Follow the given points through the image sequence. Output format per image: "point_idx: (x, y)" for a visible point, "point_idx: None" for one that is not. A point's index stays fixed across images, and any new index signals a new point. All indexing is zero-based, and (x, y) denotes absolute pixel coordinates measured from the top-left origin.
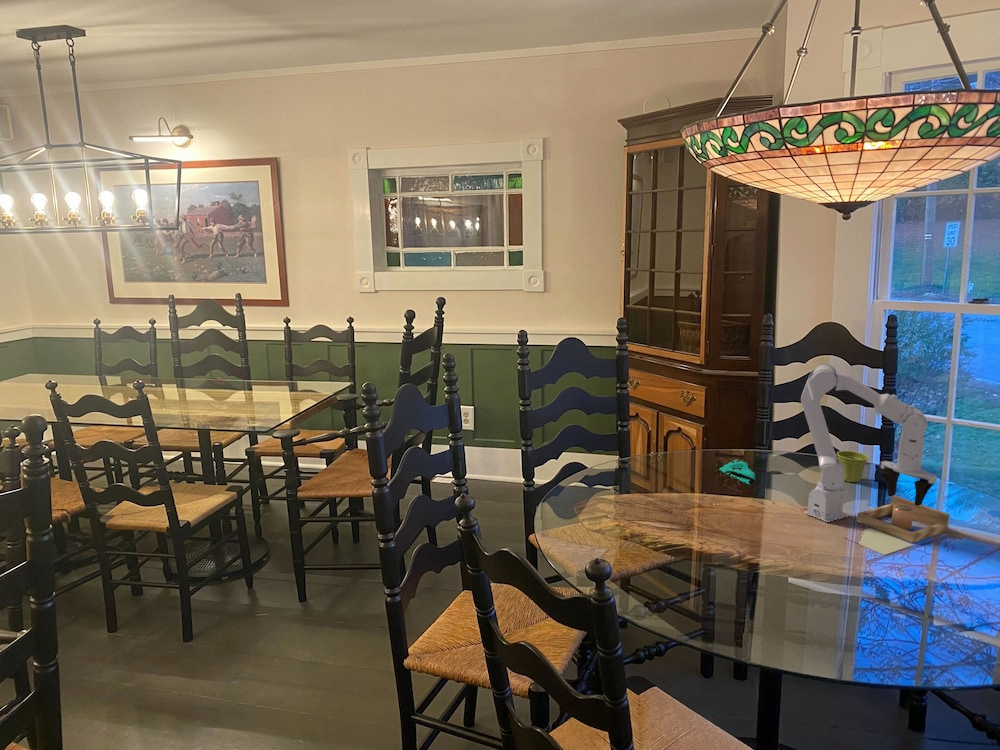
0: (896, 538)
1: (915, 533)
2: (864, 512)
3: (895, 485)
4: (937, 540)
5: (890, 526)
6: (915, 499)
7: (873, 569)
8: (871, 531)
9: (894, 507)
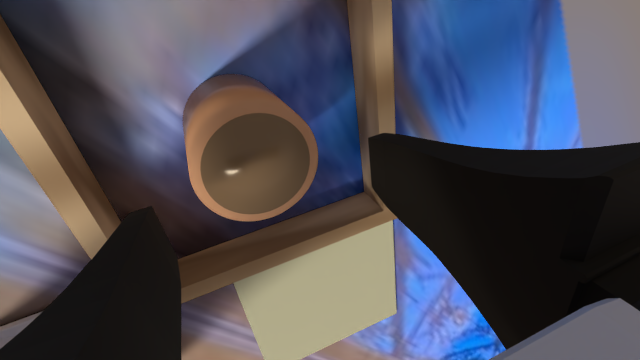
0: None
1: None
2: None
3: (137, 273)
4: (401, 80)
5: (307, 251)
6: (403, 218)
7: (424, 354)
8: (259, 282)
9: (235, 216)
